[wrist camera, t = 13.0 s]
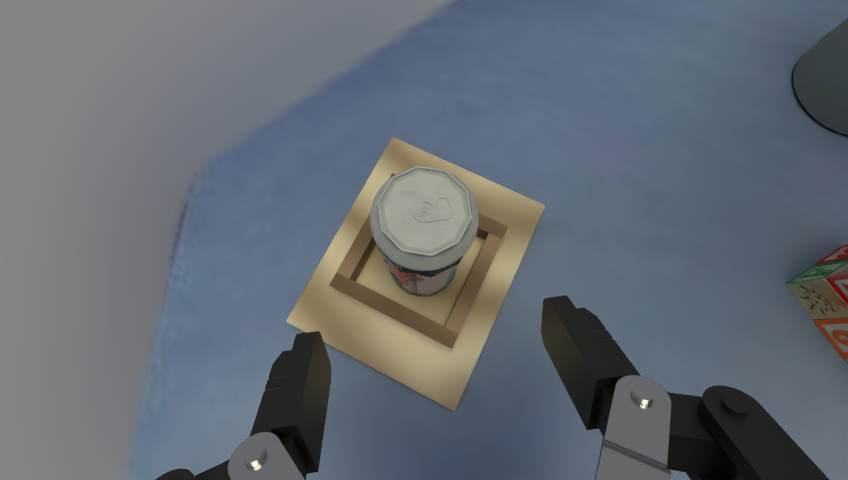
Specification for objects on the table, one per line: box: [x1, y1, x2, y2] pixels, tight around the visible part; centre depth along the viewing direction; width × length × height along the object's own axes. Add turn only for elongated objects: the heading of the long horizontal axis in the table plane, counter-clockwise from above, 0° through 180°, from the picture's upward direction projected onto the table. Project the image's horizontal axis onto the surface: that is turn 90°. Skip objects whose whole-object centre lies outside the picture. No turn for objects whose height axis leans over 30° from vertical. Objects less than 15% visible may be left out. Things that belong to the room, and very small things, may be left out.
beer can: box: [370, 166, 479, 296], centre depth 21 cm, size 5×5×12 cm
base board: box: [286, 137, 545, 412], centre depth 27 cm, size 16×13×4 cm
